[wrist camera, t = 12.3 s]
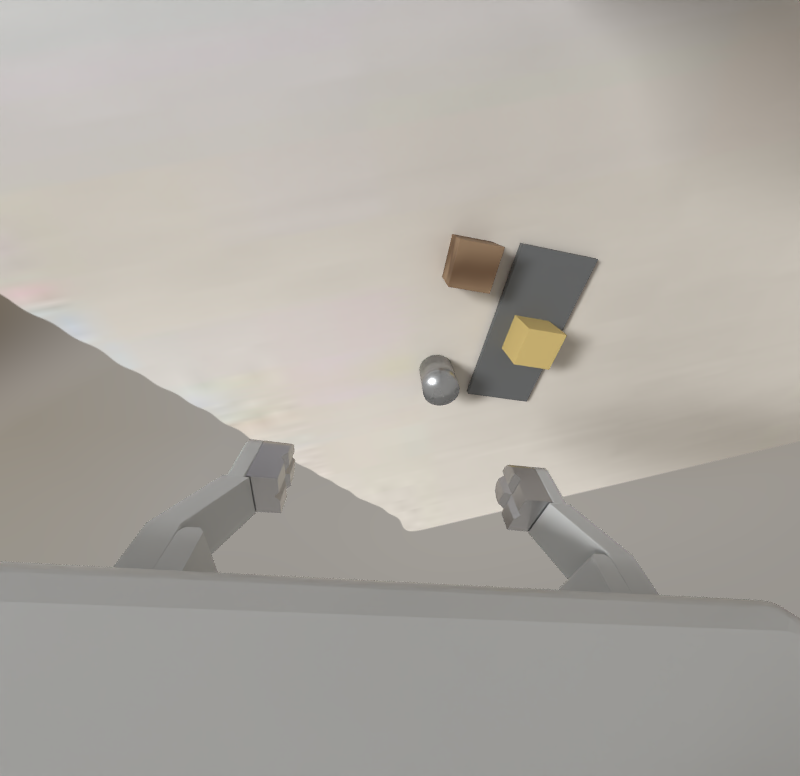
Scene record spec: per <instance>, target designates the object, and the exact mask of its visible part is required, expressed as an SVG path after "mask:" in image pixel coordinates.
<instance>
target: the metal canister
mask: <svg viewBox="0 0 800 776" xmlns="http://www.w3.org/2000/svg"><path fill="white" fill-rule="evenodd" d="M420 376H421V383H422V389H423V395H424V397H425V399H426V400H427V401H428V402H429V403H431V404H434V405H446V404H449V403H451V402H452V401H453V400H455V399H456V397H457V396H458V394H459V384H458V381H457V379H456V376H455V373H454V370H453V368H452V365H451V362H450V361H449V360H448V359H447V358H446V357H444V356H442V355H432V356H430V357H428V358H426V359H425V360H424V361H423V362H422V363H421V366H420Z"/></svg>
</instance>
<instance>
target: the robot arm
mask: <svg viewBox="0 0 800 776" xmlns="http://www.w3.org/2000/svg"><path fill="white" fill-rule="evenodd" d="M293 454H294V445H293V444H288V443H280V442H272V441H262V440H254V439H250V440H249V441H247V442H246V444H245V446H244V447H243V449H242V451H241V453H240V454H239V456H238V458H237V459H236V461H235V463H234V464H233V466H232V468H231V470H230V471H229V473H228V475H222V476H220V477H218V478H217V479H215V480H214V481H212V482H210V483H209V484H207V485H206V486H204V487H203V488H201V489H199V490H198V491H196V492H195V493H193V494H191V495H190V496H188V497H186V498H185V499H183V500H182V501H180V502H179V503H177V504H175V505H174V506H172V507H171V508H169V509H167V510H166V511H164V512H163V513H161V514H159V515H158V516H156V517H155V518H153V519H151V520H150V521H148V522H147V523H146V524H145V525H144V527H143V528H142V529H141V531H140V532H139V533H138V535H137V536H136V537H135V539H134V540H133V541H132V543H131V544H130V545H129V547H128V548H127V549H126V551H125V552H124V553H123V555H122V556H121V557H120V559H119V560H118V561H117V563H116V564H115V565H114V567H100V566H80V565H79V566H78V565H61V564H42V563H23V562H22V563H21V562H2V561H0V776H800V618H799V617H797V616H795V615H794V614H792V613H791V612H789V611H787V610H786V609H784V608H783V607H781V606H779V605H777V604H775V603H772V602H768V601H763V600H749V599H729V598H710V597H709V598H708V597H690V596H670V595H659V594H658V592H657V591H656V589H655V588H654V586H653V585H652V583H651V582H650V580H649V579H648V577H647V576H646V574H645V573H644V571H643V570H642V568H641V567H640V565H639V564H638V562H637V561H636V559H635V558H634V556H633V555H632V554H631V553H629V552H628V551H627V550H626V549H624V548H623V547H622V546H621V545H620V544H618V543H617V542H616V541H615V540H613V539H612V538H611V537H610V536H609V535H607V534H606V533H605V532H604V531H602V530H601V529H600V528H599V527H597V526H596V525H595V524H594V523H593V522H591V521H590V520H589V519H588V518H586V517H585V516H584V515H583V514H581V513H580V512H579V511H578V510H577V509H575V508H574V507H573V506H572V505H570V504H566V502H565V500H564V499H563V497H562V495H561V493H560V491H559V490H558V488H557V486H556V484H555V483H554V481H553V479H552V477H551V476H550V474H549V472H548V471H547V470H546V469H545V468H537V467H526V466H515V465H507V466H506V467H505V468H504V470H503V474H504V476H502V477H501V478H499V479H498V481H497V483H496V489H495V493H496V498H497V501H498V503H499V504H500V505H501V506H502V507H503V511H502V516H503V519H504V522H505V524H506V528H507V529H508V530H517V531H527V532H528V533H529V534H530V535H531V537H533V539H534V540H535V541H536V543H537V544H538V545H539V546H540V547H541V548H542V550H543V551H544V552H545V553H546V554H547V555H548V557H549V558H550V559H551V560H552V561H553V563H555V565H556V566H557V567H558V568H559V569H560V571H561V572H562V573H563V574H564V575H565V577H566V578H567V579H568V580H567V581H566V582H565V583H564V584H563V585H562V586H560V588H559V590H551V589H531V588H511V587H493V586H473V585H453V584H434V583H415V582H395V581H375V580H354V579H334V578H315V577H296V576H276V575H255V574H235V573H218V571H217V569H216V566H215V563H214V560H213V558H212V555H211V554H212V553H213V552H214V551H216V550H217V549H218V548H219V547H220V546H221V545H222V544H223V543H224V542H225V541H226V540H227V539H228V538H230V536H231V535H233V534H234V533H235V532H236V531H237V530H238V529H239V528H240V527H241V526H242V525H243V524H245V523H246V522H247V521H248V520H249V519H250V518H251V517H252V516H253V515H254V514H255V512H274V513H281V512H282V509H283V506H284V503H285V500H286V497H287V490H286V489H287V488H288V487H289V486H291V483H292V480H293V476H294V471H295V460H294V458H293Z"/></svg>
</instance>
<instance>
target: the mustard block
mask: <svg viewBox="0 0 800 776" xmlns="http://www.w3.org/2000/svg"><path fill="white" fill-rule="evenodd" d="M566 336H567V335H566V334H565V333H564V332H562V331H561V330H560V329H558V328H557V327H556V326H555V325H553V324H552V323H551V322H549V321H546V320H540V319H535V318H529V317H523V316H517V315H515V316H514V319H513V321H512V324H511V326H510V329H509V331H508V334H507V336H506V339H505V341H504V344H503V346H502V349H503V350H504V352H505V353H506V354H507V356H508V357H509V358H510V360H511V361H512V362H513V364H515V365H522V366H528V367H535V368H541V369H548V370H549V369H550V367H551V365H552V363H553V361H554V359H555V357H556V355H557V353H558V351H559V349H560V347H561V346H562V344H563V342H564V340H565V338H566Z"/></svg>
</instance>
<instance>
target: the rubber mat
mask: <svg viewBox="0 0 800 776" xmlns="http://www.w3.org/2000/svg"><path fill="white" fill-rule="evenodd" d="M597 261H598V259H595V258H591V257H586V256H581V255H576V254H571V253H567V252H562V251H557V250H552V249H547V248H542V247H537V246H532V245H528V244H523V243H520V246H519V249H518V251H517V254H516V257H515V260H514V262H513V265H512V268H511V271H510V273H509V276H508V279H507V282H506V285H505V287H504V290H503V293H502V296H501V298H500V301H499V304H498V307H497V309H496V312H495V315H494V318H493V321H492V323H491V326H490V329H489V332H488V334H487V337H486V340H485V343H484V345H483V348H482V351H481V354H480V356H479V359H478V362H477V365H476V368H475V370H474V373H473V376H472V379H471V381H470V384H469V387H468V390H467V392H468V394H475V395H483V396H490V397H497V398H504V399H512V400H519V401H527V399H528V398H529V396H530V394H531V392H532V390H533V388H534V386H535V384H536V382H537V380H538V378H539V376H540V374H541V372H542V370H543V369H541V368H535V367H528V366H522V365H515V364H513V362H512V361H511V360H510V358H509V357H508V356H507V354H506V353H505V352H504V350H503V349H502V346H503V344H504V341H505V339H506V336H507V334H508V331H509V329H510V326H511V324H512V321H513V319H514V316H515V315H517V316H523V317H529V318H535V319H540V320H546V321H549V322H551V323H552V324H553V325H555V326H556V327H557V328H558V329H560V330H561V331H562V330H563V328H564V326H565V324H566V322H567V320H568V318H569V316H570V314H571V312H572V310H573V308H574V306H575V304H576V302H577V300H578V298H579V296H580V294H581V292H582V290H583V288H584V286H585V284H586V282H587V280H588V278H589V276H590V274H591V273H592V271H593V269H594V267H595V265H596V263H597Z"/></svg>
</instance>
